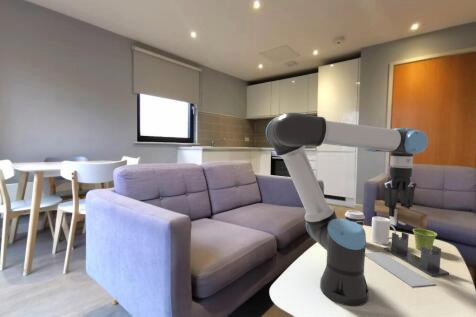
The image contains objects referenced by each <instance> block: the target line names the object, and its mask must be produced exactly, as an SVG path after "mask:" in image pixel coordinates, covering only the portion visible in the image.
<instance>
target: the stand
mask: <svg viewBox="0 0 476 317" xmlns="http://www.w3.org/2000/svg"><path fill="white" fill-rule="evenodd" d="M391 237H392V239H391V246H388V247H386V246H385V247H383V250H384V251H386V252H388V253H389V254H391V255H393V256H395V257H396V258H398V259H400V260H402V261H403V262H406V263H407V264H409V265H411V266H412V267H414V268H416V269H418V270H420V271H421V272H423V273H425V274H426V275H428V276H430V277H431V278H433V277H443V276H450V272H448V271H447V270H444V269H443V268H441V255H442V254H441V253H442V248H441V247H439V246H436V245H434V244H433V246H432V250H431V251H430V249H428V248H426V247H424V246H421V250H420V256H417V255H416V254H414V253H412V252H410V251H409V250H408V249H409V238H410V234H409V233H406V232H404V231H403V232H401V236H400V235H399V234H397V232H396V233H395V232H392V233H391Z"/></svg>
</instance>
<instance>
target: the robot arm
mask: <svg viewBox="0 0 476 317" xmlns="http://www.w3.org/2000/svg"><path fill="white" fill-rule="evenodd" d="M265 137H266V139H267V141H268V143H269V145H271V146H272V147H273V149H274V151H275V153H276V156H277V157H278V158H281V159H283V162H284V164H285V167H286V168H287V172H288V173H289V176H290V178H291V181H292V182H293V185H294V187H295V190H296V191H297V192H296V193H297V194H298V196H299V199H300V201H301V203H302V206H303V207H304V210H305V214H304V220H305V229H306V231H307V233H308V234H309V236H310V237H311V239H313V240H314V241H316V242H317V243H318V244H319V245H320V246H321V247H322V248H323V249H324V250H326V265H325V268H324V270H323V273H322V276H321V277H320V283H319V284H320V285H319V288H320V290H321V292H322V294H323V295H324V296H326V297H327V298H328V299H330V300H332V301H334V302H336V303H338V304H342V305H345V306H351V307H353V306H354V307H355V306H356V307H358V306H363V305H365V304H367V303H368V301H369V299H370V298H369V297H370V290H369V287H368V283H367V280H366V277H365V258H366V256H365V253H366V246H367V245H366V244H367V234H366V230H365V229H364V228H363V227H364V226H363V227H362V226H360V225H359V224H357V223H355V222H353V221H349V220H346V218H338V216H337V213H336V212H335V208H334V207H333V206H331V205H328V203H327V200H326V198H325V196H324V194H323V191H322V189H321V186H320V183H319V181H318V179H317V177H316V174H315V172H314V169H313V167H312V165H311V161H310V160H309V158H308V155H307V152H306V150H305V148H306V147H309V146H310V147H320V146H322V145H329V146H330V145H332V146H339V147H349V148H359V149H364V150H365V151H367V152H372V153H375V152H378V153H379V152H382V153H390V162H389V166H390V167H389V176H390V179H389V181H387V182H383V183H382V184H383V188H384V201H385V206H387V207H389V216H390V217H389V220H390V221H389V223H390V224H391V225H393V226H397V223H398V224H400V225H402V226H406V223H403V222H401V221H398V220H397V209H395V208H396V205H398V204H397V203H398V199H399V197H400V199H399V200H400V206H402V207H405V208H408V209H411V208H413V205H414V204H413V203H414V197H415V189H416V187H417V183H416V182H412V181H411V178H412V177H413V168H412V167H413V164H414V163H413V162H414V154H419V153H422V152H424V151H426V150H425V149H427V147H428V143H429V139H428V136H427V134H426V133H425V132H424V131H422V130H418V129H416V130H415V129H413V128H410V127H398V128H397V127H396V128H395V127H394V128H388V127H379V126H371V125H363V124H354V123H347V122H339V121H331V120H330V121H329V120H327V119H326V118H325V117H324V116H319V115H318V116H317V115H313V114H306V113H300V112H286V113H284V114H282V115H278V116H275V117H274V118H272V119H271V120H270V121H269V123H268V124H267V126H266V128H265Z"/></svg>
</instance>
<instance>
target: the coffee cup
mask: <svg viewBox="0 0 476 317" xmlns="http://www.w3.org/2000/svg"><path fill="white" fill-rule="evenodd" d="M344 216H345V219H346V220H349V221H353V222H355V223H357V224H359V225H360V226H362V227H364V219H366V217H365V214H364V213H363V212H362V211H358V210H354V209H353V210H346V212H345V213H344Z"/></svg>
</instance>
